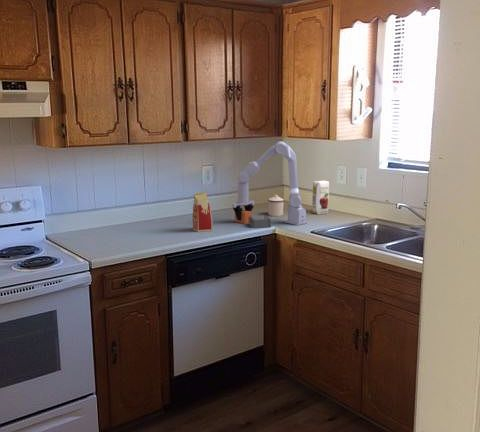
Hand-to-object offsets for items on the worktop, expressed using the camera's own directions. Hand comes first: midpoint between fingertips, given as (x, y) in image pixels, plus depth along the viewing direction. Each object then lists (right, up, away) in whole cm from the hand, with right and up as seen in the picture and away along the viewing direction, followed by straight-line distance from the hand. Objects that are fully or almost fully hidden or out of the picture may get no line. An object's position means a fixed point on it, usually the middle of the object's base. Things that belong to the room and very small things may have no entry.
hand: (243, 219), depth 287 cm
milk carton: (-21, -5, -19) cm, 29 cm away
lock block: (0, -2, 0) cm, 2 cm away
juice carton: (+45, +3, +24) cm, 51 cm away
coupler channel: (+8, -3, -9) cm, 13 cm away
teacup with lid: (+18, +2, +21) cm, 28 cm away
